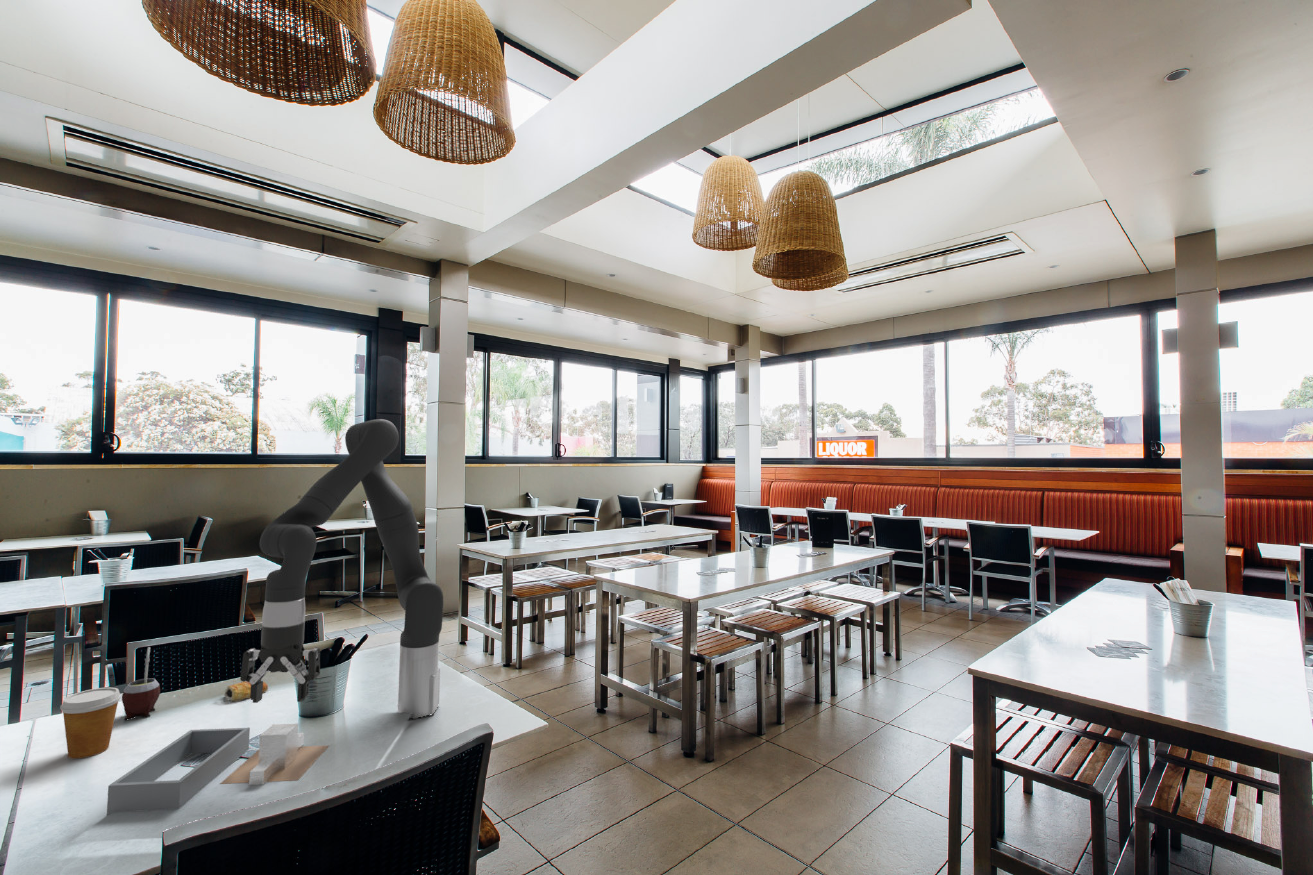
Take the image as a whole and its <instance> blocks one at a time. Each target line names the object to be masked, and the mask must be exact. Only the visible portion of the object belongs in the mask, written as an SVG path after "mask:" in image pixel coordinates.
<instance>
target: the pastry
mask: <svg viewBox="0 0 1313 875" xmlns="http://www.w3.org/2000/svg"><path fill="white" fill-rule="evenodd" d="M268 689H269V687H268V684H267V683H266V682H264V681H263V693H262V694H264V693H266V692H267V691H268ZM223 695H224V697H225V699H226V700H227V701H231V702H239V701H243V700H244V699H251V698H250V695H251V684H250V683H249V682H247V681H244V682H243V681H241V682H237V683H233V684H231V685H228V686H227V688H225V691H224V694H223Z"/></svg>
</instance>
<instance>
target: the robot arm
mask: <svg viewBox="0 0 1313 875" xmlns="http://www.w3.org/2000/svg"><path fill="white" fill-rule="evenodd" d="M399 435H400V434H399V430H398V428H397V427H396V425H394V423H393V422H391V421H390V420H387V419H383V418H382V419H381V418H380V419H378V418H377V419H370V420H365V421H362V422H357V423H355V424H352V425H350V427H349V428H348V429H347V431H346V433H345V440H344V441H345V447H346V449H347V450H346V451H347V453H348V456H347V457H345V459H343V460H342V461H341V462H339V463H338V464H337V465H335V466H334V467H333V468H331V469H330V470H329V471H328V472H326V473H325V474H324V475H323V476H321V477H320V478H319V479H317V481H316V482H314V483H313V485H311V487H310V488H309V489H308V490H307V491H306V492H305V494H304V495H303V496H302V497H301V498H300V500H299V501H298V502H297V503H295V505H292V506H291V507H290V508H289V509H287V510H286V511H285V512H283V513H281V514H280V515H279V516H277V518H274V520H273V521H271V522H270V523H269V524H268V525H267V526H266V527H265V529H264V530H263V531H262V533H261V536H260V538H259V548H260V550H261V552H262V554H265V555H266V556H269V557H272V558H282V559H283V561H282V563H281V566H280V569H275V570H272V571H271V572H269V573H268V574H267V576H266V580H265V592H264V605H263V609H262V617H261V634H260V636H261V637H260V639H261V640H260V647H261V648H260V649H256V648H255V647H251V648H250V649H248V650H246V651H244V652H243V655H242V661H241V668H240V669H241V670H240V678H239V679H240V681H241V682H249V683H250V684H251V695H250V698H249V699H250V700H251V701H252V703H254V704H257V703H260V702H261V701H262V700H263V694H264V693H263V682H264V681H263V678H264V677H265V676H266V675H267V674H268V673H269V672H270V673H278V672H279V673H288V672H289V673H290V675H291V676H293V677H295V679H297V681H298V683H297V699H296V700H297V702H298V703H301V702H304V700H306V698H307V697H308V696H309V693H310V682H311V681H314V680H315V679H316V678H318V677H319V676H320V674H321V650H320V647H318V646H316V647H314V648H313V649H305V647H304V643H305V642H304V641H305V627H306V626H305V625H306V624H305V623H306V609H307V608H306V600H305V599H306V582H307V580H306V579H307V576H308V573H309V570H310V567H311V564H312V562H313V558H314V556H315V552H316V549H317V536H316V534H315V531H314V530H313V528H314V527H317V526H318V527H319V526H322V525H324V524H325V523H326V522H327V521H328V520H330V518H331V517H332V516H333V514H334V513H336V511H337V510H338V508H339V507H340V505H342V503H344V500H345V499H346V498H347V497H348V496H349V494H350V493H351V492H353V490H354V489H355V488H356V486H357V485H359V484H360V483H361V484H362V487H363V489H364V490H363V491H364V494H365V496H366V499H367V501H368V504H369V507H370V511H371V513H372V514H371V515H372V518H373V521H374V525H375V526H376V529H377V533H378V534H377V535H378V536H379V539H380V541H381V544H382V546H383V549H384V552H385V554H386V556H387V558H388V561H389V563H390V566H391V569H392V572H393V577H394V583H395V586H396V591H397V592H396V593H397V598H398V602H399V604H400V606H401V607H402V609H403V610H404V628H403V631H402V632H401V633H400V637H399V639H400V641H399V643H400V644H399V661H398V662H399V665H398V666H399V667H398V691H397V692H398V695H397V696H398V697H397V713H398V714H401V713H402V714H411V715H410V717H409V718H408V719H411V718H413V719H418V718H417V717H421V718H424V717H423V716H425V717H427V716H426V715H429V716H431V715H430V714H433V713H434V712H435V710H436V708H437V706H438V704H439V705H440V691H441V690H440V689H441V688H440V687H441V686H440V685H441V668H439V651H440V650H439V649H440V647H439V645H440V634H441V632H442V629H443V620H444V619H443V617H444V594H443V590H442V587H440V585H438V584H437V583H436V582H435V581H432V580H431V579H430V577H429V575H428V573H427V570H426V567H425V566H424V563H423V560H422V556H421V551H420V550H421V549H420V531H419V525H418V522H417V518H416V515H415V511H414V509H413V506H412V504H411V501H410V499H409V498H408V496H407V495H406V494H405V493H404V492H403V490H402V489H401V488H400V487H399V486H398V485H397V483H395V482H394V481H393V480H392V478H391V477H390V476H389V473H388V472H387V469H386V468H385V464H384V461H383V460H385V459H386V458H387V457H388V456H390V454H392V452H394V450H396V448H397V446H398V444H399V441H400V436H399ZM303 657H305V660H306V661H308V662H307V663H308V665H307V666H308V670H307V667H306V665H305V663H304V662H303V660H302V659H303ZM258 658H259V660H260V662H261V663H262V664H261V665H260V667H259V668H258V669H257V670H256V671H255V664H256V660H258ZM254 672H255V673H254ZM437 709H438V708H437ZM436 711H437V710H436ZM435 713H436V712H435ZM435 713H434V714H435ZM411 720H412V719H411Z"/></svg>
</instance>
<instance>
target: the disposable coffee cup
mask: <svg viewBox="0 0 1313 875" xmlns="http://www.w3.org/2000/svg"><path fill="white" fill-rule="evenodd" d="M120 699H122V694H121V692H120V690H119V688H117V687H98V688H92V689H86V690H83V691H79V692H76V693H73V694H71V695H68V696H67V697H65V698H64V700H63V701H62V704H61V705H60V706H59V708H60V710H61V712H62V714H63V724H64V732H65V741H66V742H65V743H66V749H67V750H66V751H67V757H68V758H69V759H72V760H73V759H74V760H75V759H84V758H88V757H89V758H90V757H93V756H96V755H99V754H101V753H103V752H105V751H107V750H108V749H109V747H110V742H111V738H112V733H113V730H114V729H113V728H114V723H115V720H116V719H115V717H116V713H117V709H118V704H119V702H120Z"/></svg>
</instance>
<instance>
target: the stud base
mask: <svg viewBox="0 0 1313 875" xmlns="http://www.w3.org/2000/svg"><path fill="white" fill-rule="evenodd" d="M329 747H330V745H309V746H307V745H306V746H305V745H304V746H301V747H300V748H299V749H298V750H297V757H296V758H295V759H294V761H293V762H292V763H291V764H290V765H289V766H288V767H287V768H286V769H278V770H277V771H276V772H275V773H274V774H273V775H272V776H271V777H270V778H269V779H268V780H267V781H266V782H265V783H267V782H268V783H269V782H271V783H272V782H292V781H299V780H300V779H301V778H302V776H303V775H304V774H305V773H307V771H308V770H309V769H310V768H311V766H313V765H314V763H315V762H316V761H317V760H318V759H319V758H320V757H321V755H322V754H323V753H324V752H325V751H326V750H327V749H328V748H329ZM258 764H259V749H257V751H255V752H254V753H253V754H251V756H250V757H248V759H246V760H245V761H244V762H243V763H242V764H240V765H239V766H238V767H236V769H235V770H234V771H232V773H230V774H229V775H228V776H227V777H226V778H225V779H223V780H222V781H221V782H219V785H226V784H227V785H228V784H229V785H231V784H248V783H249V779H250V771H251V770H252V769H253V768H254V767H256V766H257V765H258Z"/></svg>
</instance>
